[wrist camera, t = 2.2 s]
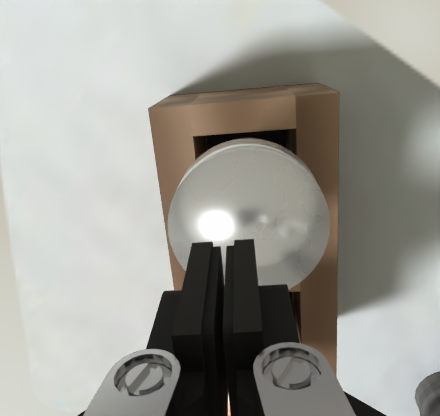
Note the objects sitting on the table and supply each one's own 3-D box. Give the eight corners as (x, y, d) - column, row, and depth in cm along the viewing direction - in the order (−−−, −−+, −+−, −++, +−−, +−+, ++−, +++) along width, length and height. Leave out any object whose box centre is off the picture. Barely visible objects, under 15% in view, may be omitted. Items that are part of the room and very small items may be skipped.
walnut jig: (318, 82, 25) (339, 92, 19) (319, 322, 31) (336, 383, 25) (169, 95, 26) (148, 108, 20) (198, 327, 32) (188, 387, 26)
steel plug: (302, 112, 21) (330, 143, 14) (304, 222, 23) (329, 295, 16) (185, 121, 22) (157, 156, 15) (197, 228, 24) (177, 302, 17)
